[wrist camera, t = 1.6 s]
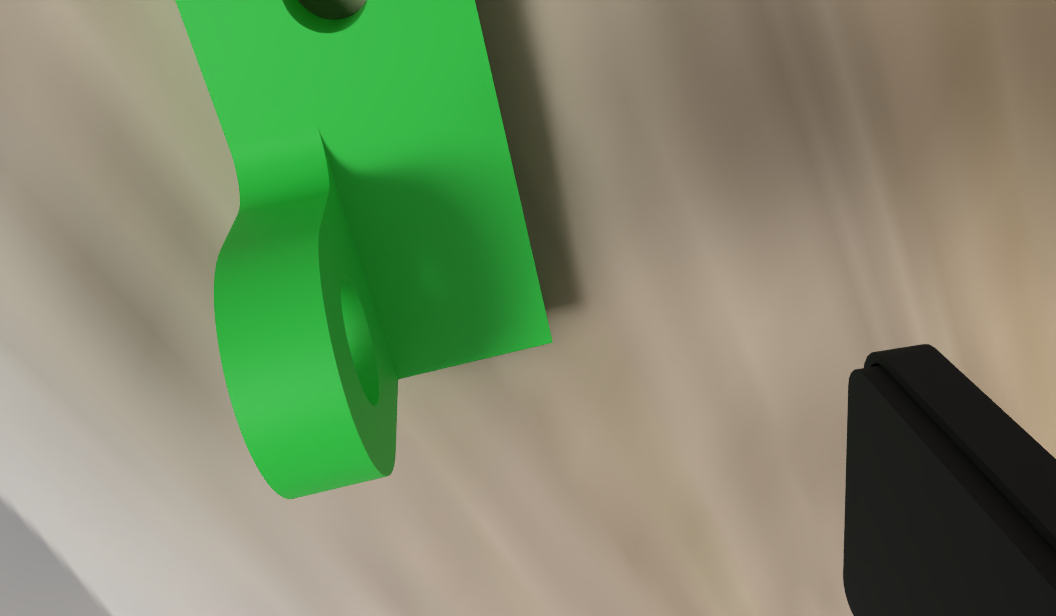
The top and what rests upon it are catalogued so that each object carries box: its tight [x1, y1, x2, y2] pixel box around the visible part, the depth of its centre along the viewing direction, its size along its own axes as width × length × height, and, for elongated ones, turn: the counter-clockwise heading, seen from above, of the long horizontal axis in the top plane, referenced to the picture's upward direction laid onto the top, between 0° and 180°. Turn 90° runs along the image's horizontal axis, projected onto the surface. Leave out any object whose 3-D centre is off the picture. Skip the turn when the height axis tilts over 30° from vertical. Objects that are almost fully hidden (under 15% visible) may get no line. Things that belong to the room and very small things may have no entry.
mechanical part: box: [176, 0, 552, 499], centre depth 20 cm, size 12×6×8 cm, turn 12°
